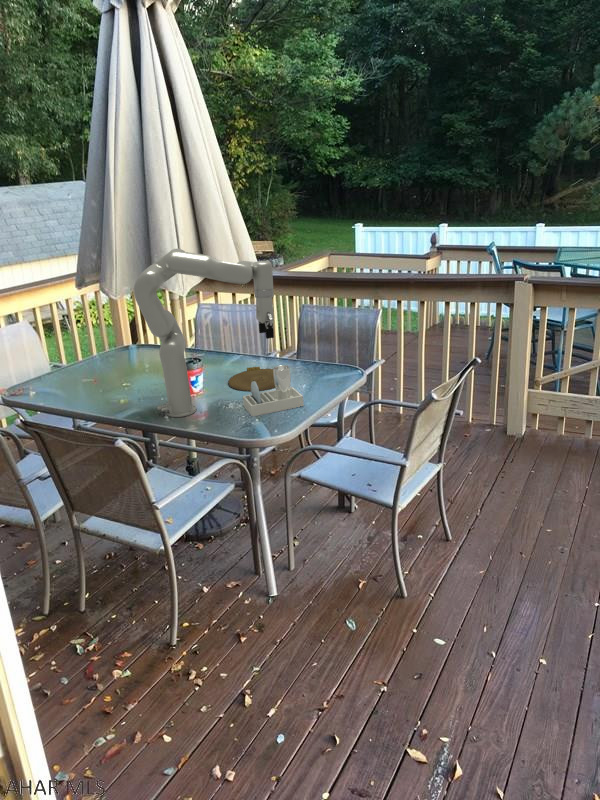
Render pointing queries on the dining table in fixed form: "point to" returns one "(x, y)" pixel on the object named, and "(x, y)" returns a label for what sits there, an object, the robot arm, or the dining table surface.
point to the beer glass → (282, 381)
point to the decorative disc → (253, 379)
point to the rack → (270, 401)
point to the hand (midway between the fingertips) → (266, 335)
